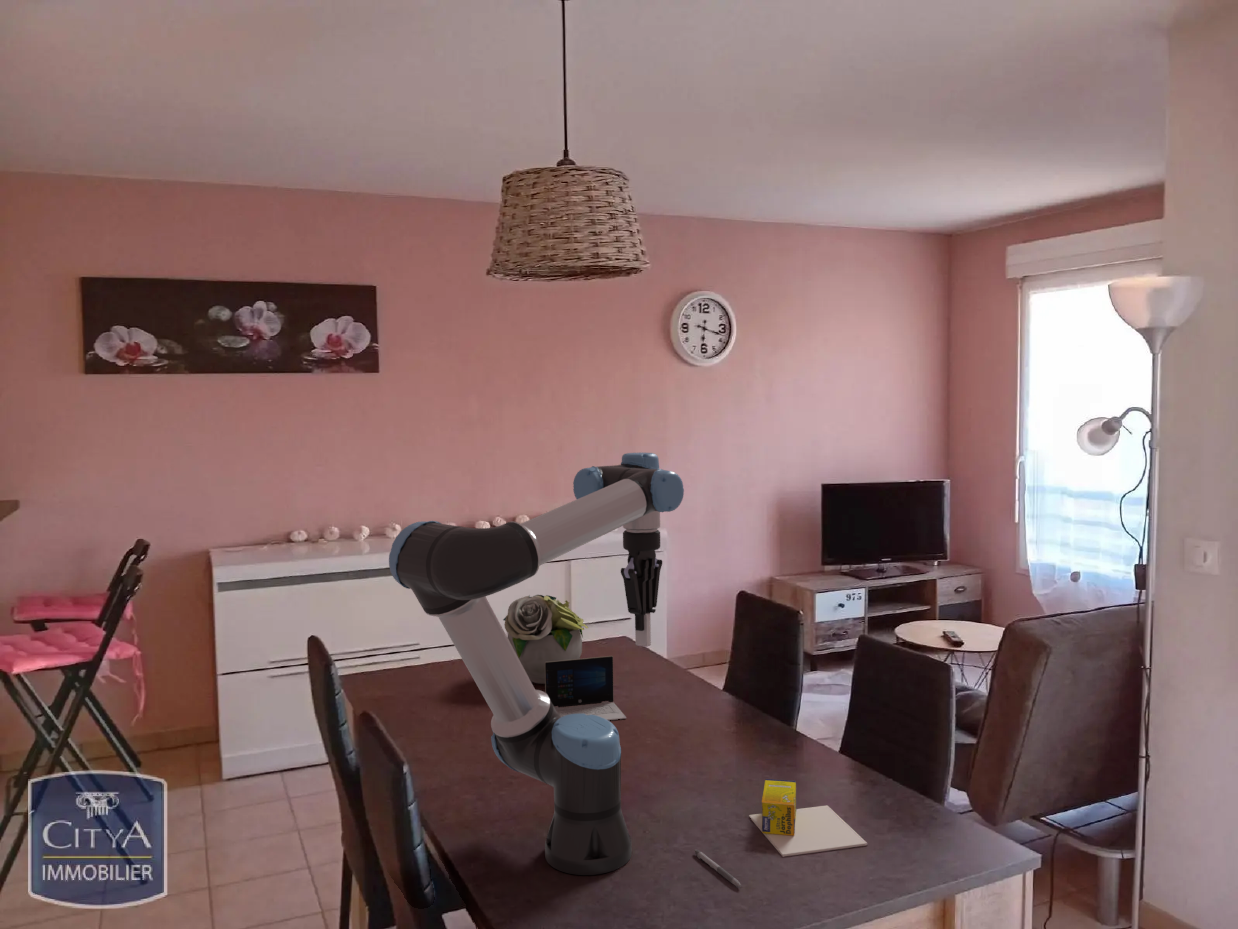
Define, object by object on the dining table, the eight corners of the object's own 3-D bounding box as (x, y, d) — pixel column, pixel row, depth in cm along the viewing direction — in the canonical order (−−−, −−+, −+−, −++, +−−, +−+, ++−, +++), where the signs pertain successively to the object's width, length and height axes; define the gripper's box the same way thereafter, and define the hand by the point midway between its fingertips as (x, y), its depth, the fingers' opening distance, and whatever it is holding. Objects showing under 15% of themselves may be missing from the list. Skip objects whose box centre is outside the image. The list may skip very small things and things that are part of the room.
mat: (867, 845, 169) (867, 843, 169) (782, 856, 165) (782, 854, 165) (827, 807, 184) (827, 805, 184) (749, 817, 180) (749, 815, 180)
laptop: (555, 728, 231) (554, 675, 230) (545, 711, 243) (544, 661, 242) (626, 720, 236) (626, 668, 235) (613, 704, 248) (612, 655, 247)
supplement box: (797, 810, 182) (794, 836, 171) (765, 808, 183) (761, 834, 173) (796, 780, 182) (794, 804, 171) (764, 778, 183) (760, 802, 172)
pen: (697, 854, 167) (697, 847, 167) (743, 891, 154) (743, 882, 154) (692, 856, 166) (692, 848, 166) (738, 892, 154) (738, 884, 154)
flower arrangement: (494, 694, 257) (492, 604, 255) (508, 667, 282) (506, 585, 280) (586, 693, 256) (584, 604, 254) (592, 667, 281) (590, 585, 279)
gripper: (641, 524, 199) (643, 635, 201) (608, 532, 188) (610, 650, 190) (673, 526, 195) (674, 640, 197) (641, 535, 184) (642, 655, 186)
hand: (643, 645), depth 193 cm, fingers closed
